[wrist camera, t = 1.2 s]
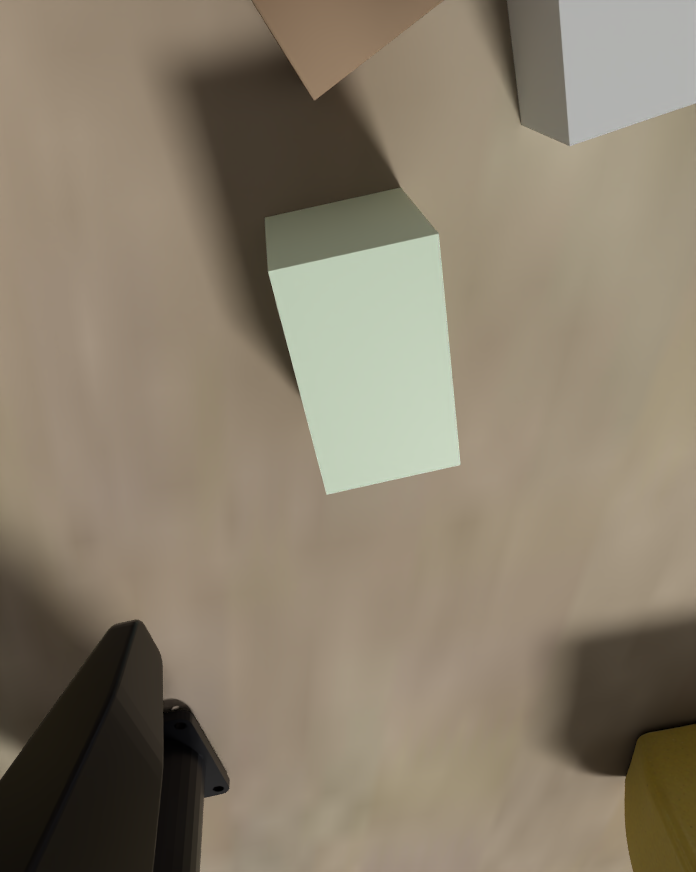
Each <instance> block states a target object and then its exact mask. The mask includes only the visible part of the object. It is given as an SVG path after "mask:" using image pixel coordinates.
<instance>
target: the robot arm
mask: <svg viewBox="0 0 696 872" xmlns="http://www.w3.org/2000/svg"><path fill="white" fill-rule="evenodd" d="M229 781H230V780H229V777H228V775H227V773H226V772H225V770H224V768H223V766H222V765H221V763H220V761H219V759H218V758H217V756H216V754H215V752H214V751H213V749H212V747H211V745H210V744H209V742H208V740H207V739H206V737H205V735H204V733H203V732H202V730H201V728H200V726H199V725H198V723H197V721H196V719H195V718H194V716H193V714H192V713H191V712H189V711H185V710H179V711H173V712H169V713H164V714H163V665H162V658H161V654H160V652H159V650H158V648H157V646H156V644H155V642H154V641H153V639H152V637H151V635H150V634H149V632H148V630H147V628H146V627H145V625H144V624H143V622H142V621H140V620H131V621H127V622H122V623H118V624H115V625H113V626H112V627H111V628H110V629H109V630H108V631H107V632H106V634H105V635H104V637H103V638H102V639H101V641H100V642H99V643H98V645H97V646H96V648H95V649H94V650H93V652H92V653H91V655H90V656H89V657H88V659H87V660H86V662H85V663H84V664H83V666H82V667H81V669H80V670H79V671H78V673H77V674H76V675H75V677H74V678H73V680H72V681H71V682H70V684H69V685H68V687H67V688H66V689H65V691H64V692H63V694H62V695H61V696H60V698H59V699H58V700H57V702H56V703H55V705H54V706H53V707H52V709H51V710H50V712H49V713H48V714H47V716H46V717H45V719H44V720H43V721H42V723H41V724H40V725H39V727H38V728H37V730H36V731H35V732H34V734H33V735H32V737H31V738H30V739H29V741H28V742H27V744H26V745H25V746H24V748H23V749H22V751H21V752H20V753H19V755H18V756H17V757H16V759H15V760H14V762H13V763H12V764H11V766H10V767H9V769H8V770H7V771H6V773H5V774H4V776H3V777H2V778H1V780H0V872H200V858H201V841H202V823H203V806H204V798H206V797H210V796H215V795H219V794H223V793H226V792H227V791H228V790H229Z"/></svg>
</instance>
